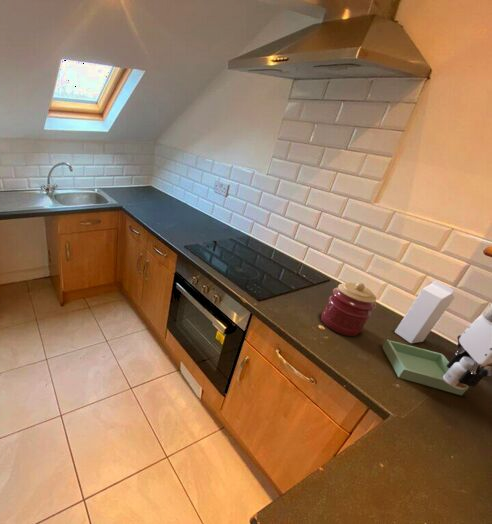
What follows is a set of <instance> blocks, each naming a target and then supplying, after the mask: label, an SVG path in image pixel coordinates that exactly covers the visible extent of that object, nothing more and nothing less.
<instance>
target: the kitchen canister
mask: <svg viewBox="0 0 492 524" xmlns="http://www.w3.org/2000/svg"><path fill="white" fill-rule="evenodd" d="M376 302H377V297H376V294H374V293H373V292H372V290H371V289H369V288H368V287H366V285H365V284H364V283H362V282H357V283H355V282H343V283H339V284H338V286H337V287H335V288H333V290H332V295H330V296H329V298H328V300H327V303H326V305H325V307H324V309H323V310H322V312H321V316H320V319H321V321H322V322H323V324H324V325H325V326H326V327H328V328H329V329H331V330H332V331H333V332H336V333H338V334H341V335H344V336H348V337H349V336H350V337H355V336H359V335H360V333H361V332H362V331H363V330H364V326H365V325H366V323H367V322H368V320H369V318H371V316H372V311H373V310H375V309H376V307H377V304H376Z"/></svg>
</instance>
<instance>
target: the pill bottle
mask: <svg viewBox="0 0 492 524" xmlns="http://www.w3.org/2000/svg"><path fill="white" fill-rule="evenodd" d="M474 362H475V360H474V359H473V358H472V357H471V358H470V357H462V359H461V360H460V362H455V363H454V364H453V365H452V367H451V368H450V369H449V370H448V371H447V373H446V374H445V375H444V376H443V379H444V380H445V382H447V383H448V384H449V385H451V386H453V387H455V388H457V389H461V390H462V389H465V388H466V387H467V386H468V385H465V384H461V383H459V381H458V380H459V379H460V378H461V376H462V375H463V374H464V373H465V372H466V371H467V370H469V371H470V370H471V368H472V366H473V364H474ZM468 387H469V386H468Z"/></svg>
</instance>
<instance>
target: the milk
mask: <svg viewBox="0 0 492 524" xmlns="http://www.w3.org/2000/svg"><path fill="white" fill-rule="evenodd" d="M454 292H455V288H452V287H450V286H448V285H446V284H443V283H442V282H439V281H438V280H436V279H435V280H433V281H432V282H431V283H430V284H428V285H426V286H424V287H422V288H421V290H420V291H419V293H418V295H417V296H416V298H415V299H414V300H413V303H412V304H411V306H410V307H409V309H408V310H407V312H406V313H405V314H404V316H403V318H402V320H401V321H400V322H399V324H398V325H397V327H396V328H395V330H394V333H395V334H396V335H398V336H399V337H401V338H402V339H404V340H405V341H407V343H410V344H416V343H422V342H424V341H425V339H426V338H427V337H428V335H429V334H430V333H431V331H432V330H433V328H434V327H435V326H436V325H437V323H438V321H439V320H440V319H441V317H442V316H443V314H445V312H446V310H448V308H449V306H450V305H451V304H452V302H453V301H454V300H455V296H454V294H453V293H454Z"/></svg>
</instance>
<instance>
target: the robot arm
mask: <svg viewBox="0 0 492 524" xmlns="http://www.w3.org/2000/svg"><path fill="white" fill-rule="evenodd" d="M456 338H457V345H456V346H457V347H456V348H457V349H456V350H455V351H454V356H453V357H452V358H451V359H450V360H449V363H448V364H447V367H448V368H451V367H452V365H453V364H454V363H455V362H460V360H461V359H462V357H470V358H472V359H474V360H475V362H474V364H473V366H472V368H471V370H470V371H469V370H467V371H466V372H465V373H464V374H463V375H462V376H461V378H460V379H459V380H458V381H459V383H461V384H465V385H468V387H471V388H474V387H476V386H477V385H478V384H479V383H480V381H482V379H483V378H492V303H491V304H490V305H489V306H488V307H487V308H486V310H485V311H484V312H483V313H482V314H480V315H479V316H478V317H477V318H476V319H474V320H473V321H472V322H471V323H470V324H469V326H468V327H467V328H466V329H465V330H464V331H463V332H462V333H461V334H460V335H458V336H457V337H456ZM481 367H483V369H481Z"/></svg>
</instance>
